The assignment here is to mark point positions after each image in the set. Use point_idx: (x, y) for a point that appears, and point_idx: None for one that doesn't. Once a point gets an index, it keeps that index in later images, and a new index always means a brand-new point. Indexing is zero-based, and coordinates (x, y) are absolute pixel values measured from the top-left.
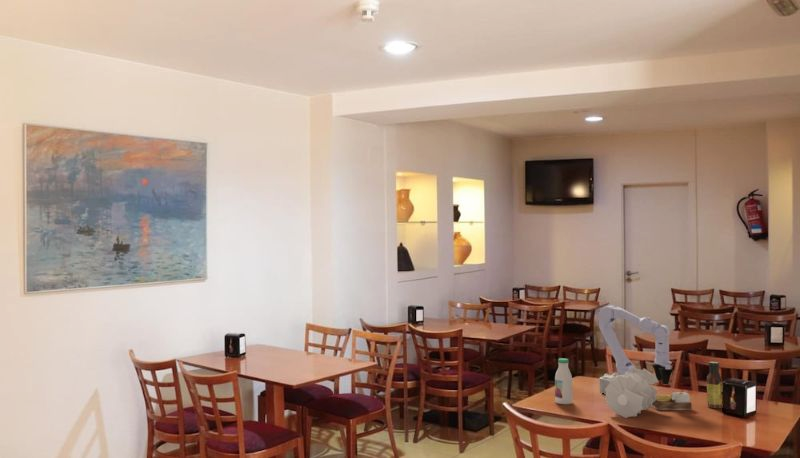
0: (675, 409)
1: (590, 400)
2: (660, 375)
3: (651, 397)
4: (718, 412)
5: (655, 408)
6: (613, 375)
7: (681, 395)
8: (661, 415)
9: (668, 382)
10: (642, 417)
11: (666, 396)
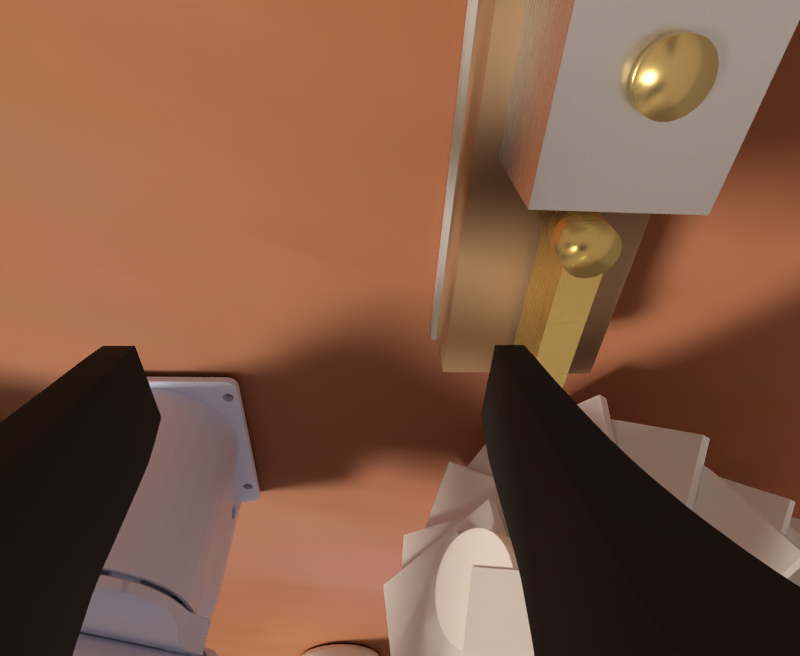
0: None
1: (276, 591)
2: (88, 457)
3: (660, 480)
4: None
5: None
6: None
7: (749, 99)
8: (742, 343)
9: (540, 364)
10: (724, 461)
11: (586, 297)
